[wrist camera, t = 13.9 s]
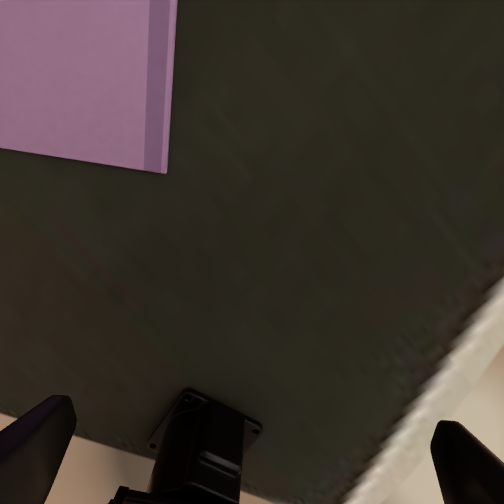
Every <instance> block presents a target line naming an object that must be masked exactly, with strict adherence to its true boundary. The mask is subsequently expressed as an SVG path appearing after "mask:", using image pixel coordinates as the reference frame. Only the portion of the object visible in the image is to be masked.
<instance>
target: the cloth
mask: <svg viewBox="0 0 504 504" xmlns="http://www.w3.org/2000/svg"><path fill="white" fill-rule="evenodd" d="M176 16H177V0H0V148H4V149H11V150H17V151H23V152H30V153H36V154H42V155H49V156H55V157H61V158H68V159H74V160H80V161H87V162H93V163H99V164H106V165H112V166H118V167H125V168H131V169H137V170H144V171H150V172H156V173H163V174H166V173H167V165H168V149H169V132H170V116H171V99H172V82H173V66H174V49H175V33H176Z"/></svg>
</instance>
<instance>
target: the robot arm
mask: <svg viewBox="0 0 504 504" xmlns="http://www.w3.org/2000/svg"><path fill="white" fill-rule="evenodd" d="M188 396H191V397H188ZM76 422H77V419H76V414H75V411H74V407H73V404H72V400H71V398H70V397H69V396H66V395H52V396H50V397H48V398H47V399H45V400H44V401H43V402H41V403H40V404H38V405H37V406H35V407H34V408H33V409H31V410H30V411H28V412H27V413H26V414H24V415H23V416H21V417H20V418H18V419H17V420H16V421H14V422H13V423H11V424H10V425H9V426H7V427H6V428H4V429H3V430H1V431H0V504H44V502H45V500H46V498H47V496H48V494H49V492H50V490H51V487H52V485H53V483H54V480H55V477H56V475H57V473H58V470H59V468H60V465H61V463H62V460H63V457H64V455H65V453H66V450H67V447H68V445H69V443H70V440H71V438H72V435H73V433H74V430H75V427H76ZM261 434H262V425H261V424H260V423H259V422H257V421H255V420H253V419H251V418H249V417H247V416H245V415H243V414H241V413H239V412H237V411H235V410H233V409H231V408H229V407H227V406H225V405H223V404H221V403H219V402H217V401H215V400H213V399H211V398H209V397H207V396H205V395H203V394H201V393H199V392H197V391H195V390H193V389H185V390H184V391H183V392H182V393H181V395H180V396H179V397H178V399H177V400H176V402H175V403H174V404H173V406H172V407H171V408H170V410H169V411H168V413H167V414H166V415H165V417H164V418H163V420H162V421H161V422H160V424H159V425H158V426H157V428H156V429H155V431H154V432H153V433H152V435H151V436H150V438H149V439H148V442H147V448H148V449H150V450H152V451H154V452H156V453H158V455H157V458H156V462H155V465H154V468H153V472H152V475H151V478H150V481H149V485H148V487H147V491H146V492H141V491H135V490H130V489H129V487H124V486H120V487H119V488H118V490H117V493H116V495H115V497H114V499H111V500H110V502H109V503H108V504H239V498H240V483H241V471H242V461H243V454H244V453H245V452H246V451H247V450H248V449H249V448H250V447H251V445H252V444H253V443H254V442H255V441H256V440H257V439H258V438H259V436H260V435H261ZM430 449H431V454H432V459H433V462H434V466H435V470H436V473H437V477H438V481H439V485H440V488H441V492H442V496H443V500H444V504H504V463H503V462H502V461H501V460H500V459H499V458H498V457H497V456H496V455H495V454H493V453H492V452H491V451H490V450H489V449H488V448H487V447H486V446H485V445H483V444H482V443H481V442H480V441H479V440H478V439H477V438H476V437H475V436H474V435H473V434H472V433H470V432H469V431H468V430H467V429H466V428H465V427H464V426H463V425H462V424H460V423H459V422H456V421H446V420H441V421H439V422H438V424H437V426H436V429H435V432H434V435H433V438H432V440H431V445H430Z"/></svg>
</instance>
